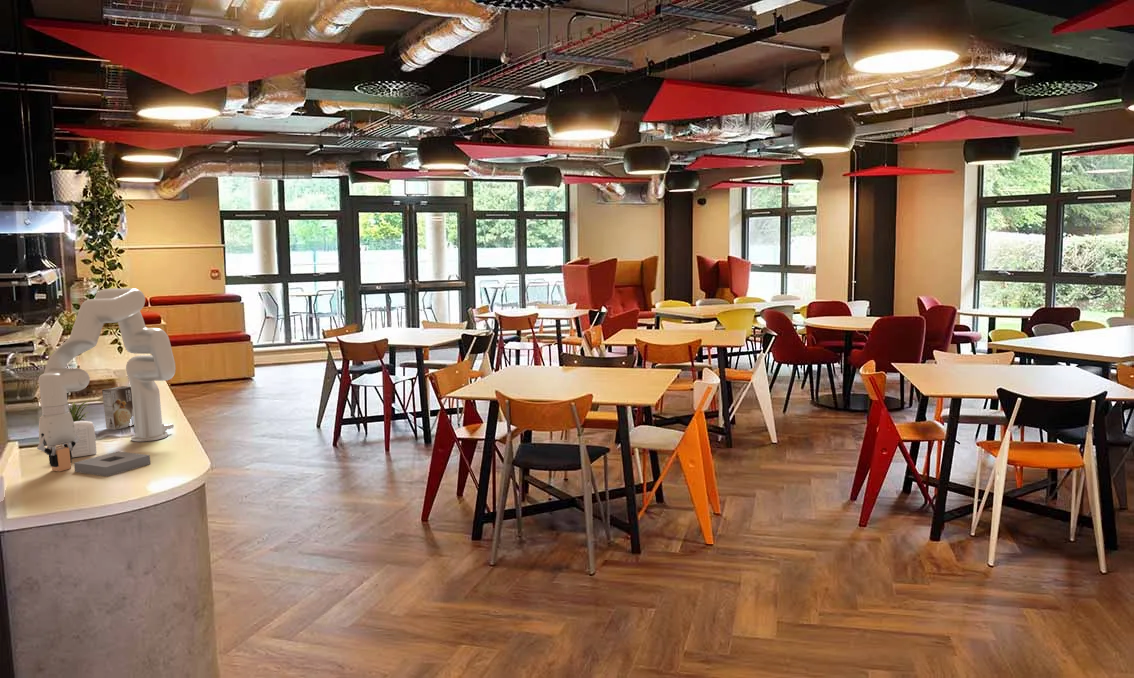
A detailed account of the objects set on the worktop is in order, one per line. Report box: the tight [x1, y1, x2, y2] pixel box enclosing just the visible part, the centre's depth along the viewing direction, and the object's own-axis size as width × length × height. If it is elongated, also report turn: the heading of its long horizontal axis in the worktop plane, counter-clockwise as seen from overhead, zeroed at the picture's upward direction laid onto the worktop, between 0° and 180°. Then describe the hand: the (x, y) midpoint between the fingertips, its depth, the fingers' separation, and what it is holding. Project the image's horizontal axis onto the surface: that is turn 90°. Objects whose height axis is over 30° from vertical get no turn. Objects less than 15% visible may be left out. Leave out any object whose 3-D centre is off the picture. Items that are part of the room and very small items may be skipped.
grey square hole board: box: [73, 450, 151, 477], centre depth 294 cm, size 16×16×3 cm
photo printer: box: [71, 420, 98, 458], centre depth 312 cm, size 10×4×12 cm, turn 123°
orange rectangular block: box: [51, 446, 72, 472], centre depth 293 cm, size 4×4×7 cm
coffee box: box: [101, 385, 134, 431], centre depth 359 cm, size 9×6×16 cm
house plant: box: [69, 400, 90, 422], centre depth 334 cm, size 14×14×16 cm
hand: (61, 464), depth 294 cm, fingers closed on orange rectangular block, 4 cm apart
